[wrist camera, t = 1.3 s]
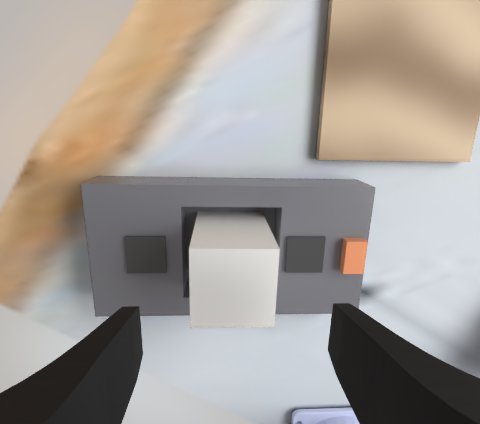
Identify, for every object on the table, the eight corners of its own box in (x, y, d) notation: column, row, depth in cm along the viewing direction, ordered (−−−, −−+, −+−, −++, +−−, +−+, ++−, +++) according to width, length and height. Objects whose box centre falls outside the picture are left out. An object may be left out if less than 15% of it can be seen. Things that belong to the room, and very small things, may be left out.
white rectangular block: (259, 270, 21) (274, 327, 15) (198, 270, 21) (189, 328, 15) (262, 212, 20) (279, 249, 14) (197, 211, 20) (188, 248, 14)
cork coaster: (462, 160, 20) (469, 161, 20) (315, 158, 20) (318, 159, 19) (498, -12, 18) (507, -16, 17) (330, -20, 17) (334, -25, 17)
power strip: (353, 178, 21) (380, 189, 17) (340, 289, 23) (361, 318, 19) (100, 174, 20) (75, 186, 16) (111, 290, 22) (91, 322, 18)
